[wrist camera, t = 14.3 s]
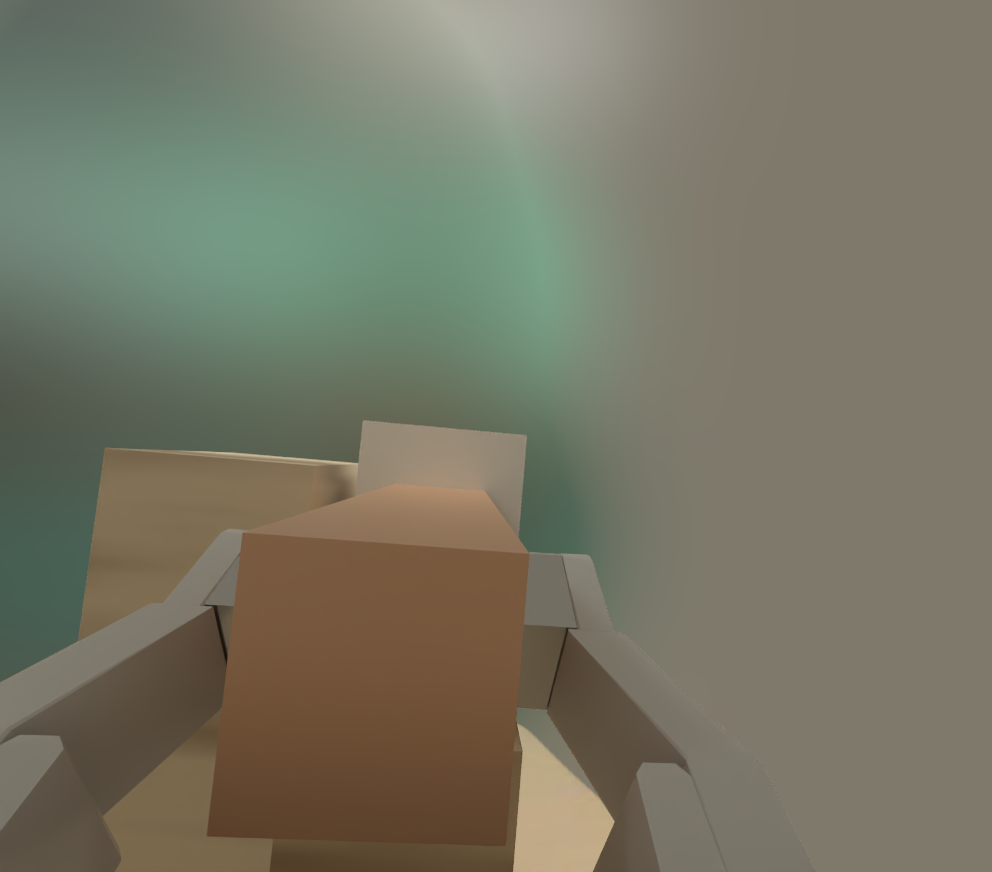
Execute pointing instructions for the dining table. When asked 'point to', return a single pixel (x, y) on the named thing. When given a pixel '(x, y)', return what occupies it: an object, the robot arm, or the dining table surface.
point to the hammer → (381, 652)
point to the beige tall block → (190, 768)
